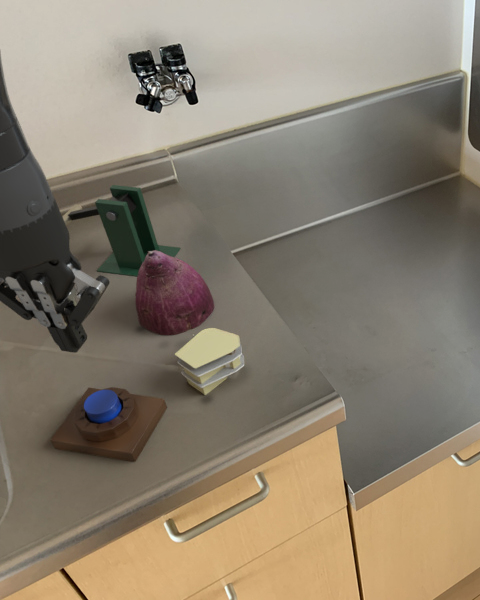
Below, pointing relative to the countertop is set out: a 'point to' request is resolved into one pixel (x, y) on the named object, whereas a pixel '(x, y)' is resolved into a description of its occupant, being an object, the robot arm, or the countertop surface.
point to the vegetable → (171, 295)
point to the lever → (95, 209)
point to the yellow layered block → (210, 358)
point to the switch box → (111, 427)
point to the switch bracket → (128, 233)
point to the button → (102, 406)
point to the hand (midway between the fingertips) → (74, 346)
